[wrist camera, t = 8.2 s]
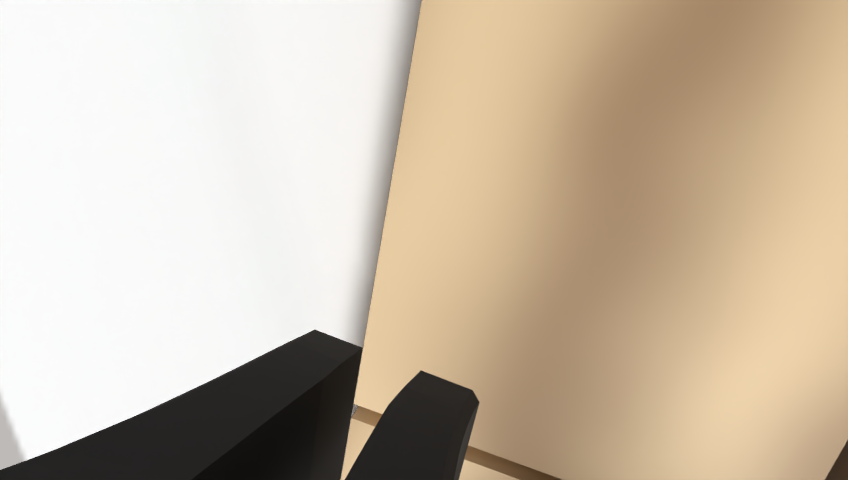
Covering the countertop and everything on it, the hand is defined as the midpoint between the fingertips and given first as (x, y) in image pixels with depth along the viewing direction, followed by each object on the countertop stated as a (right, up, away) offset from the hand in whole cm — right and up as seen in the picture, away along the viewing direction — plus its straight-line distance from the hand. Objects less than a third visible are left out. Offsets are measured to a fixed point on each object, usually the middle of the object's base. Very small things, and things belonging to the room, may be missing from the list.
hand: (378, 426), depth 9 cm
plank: (+5, +3, +6) cm, 8 cm away
